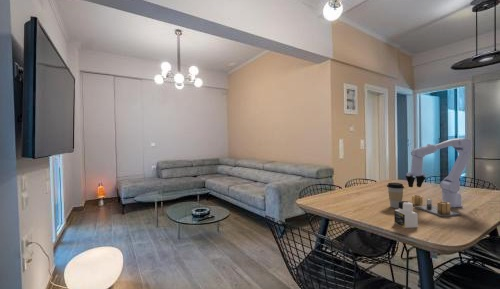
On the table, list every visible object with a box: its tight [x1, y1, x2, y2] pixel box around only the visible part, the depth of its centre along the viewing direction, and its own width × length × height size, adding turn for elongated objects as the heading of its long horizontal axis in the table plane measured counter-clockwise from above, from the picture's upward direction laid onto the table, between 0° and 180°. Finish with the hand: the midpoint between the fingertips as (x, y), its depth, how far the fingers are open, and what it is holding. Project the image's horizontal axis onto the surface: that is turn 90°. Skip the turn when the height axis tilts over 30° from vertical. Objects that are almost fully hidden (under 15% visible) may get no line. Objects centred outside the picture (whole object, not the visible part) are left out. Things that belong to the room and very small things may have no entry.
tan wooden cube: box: [411, 194, 423, 206], centre depth 153 cm, size 6×6×6 cm
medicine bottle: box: [393, 200, 419, 229], centre depth 117 cm, size 7×7×12 cm
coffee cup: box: [386, 182, 405, 209], centre depth 148 cm, size 9×9×15 cm
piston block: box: [413, 198, 462, 218], centre depth 138 cm, size 12×18×6 cm, turn 9°
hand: (414, 187), depth 152 cm, fingers open, 7 cm apart
